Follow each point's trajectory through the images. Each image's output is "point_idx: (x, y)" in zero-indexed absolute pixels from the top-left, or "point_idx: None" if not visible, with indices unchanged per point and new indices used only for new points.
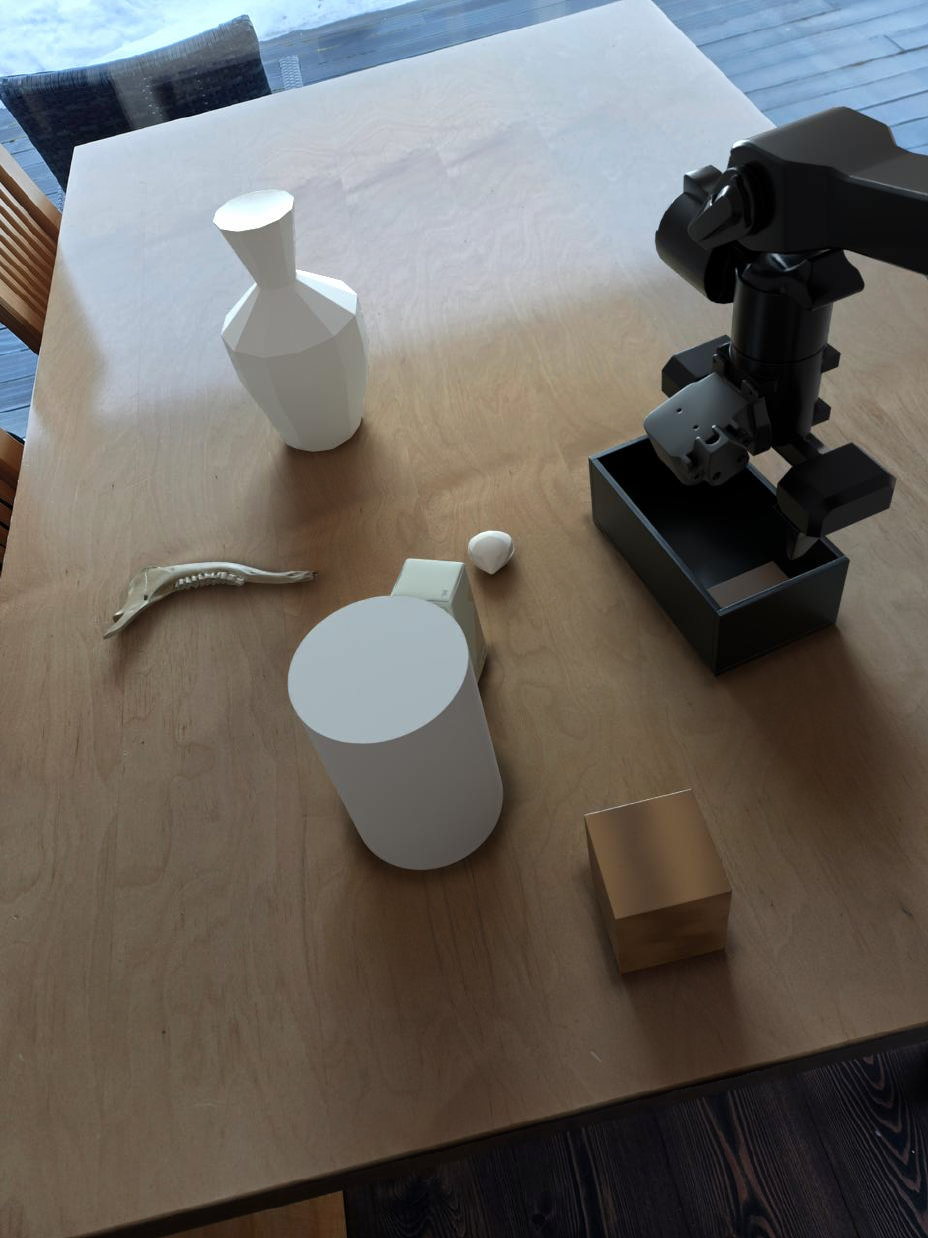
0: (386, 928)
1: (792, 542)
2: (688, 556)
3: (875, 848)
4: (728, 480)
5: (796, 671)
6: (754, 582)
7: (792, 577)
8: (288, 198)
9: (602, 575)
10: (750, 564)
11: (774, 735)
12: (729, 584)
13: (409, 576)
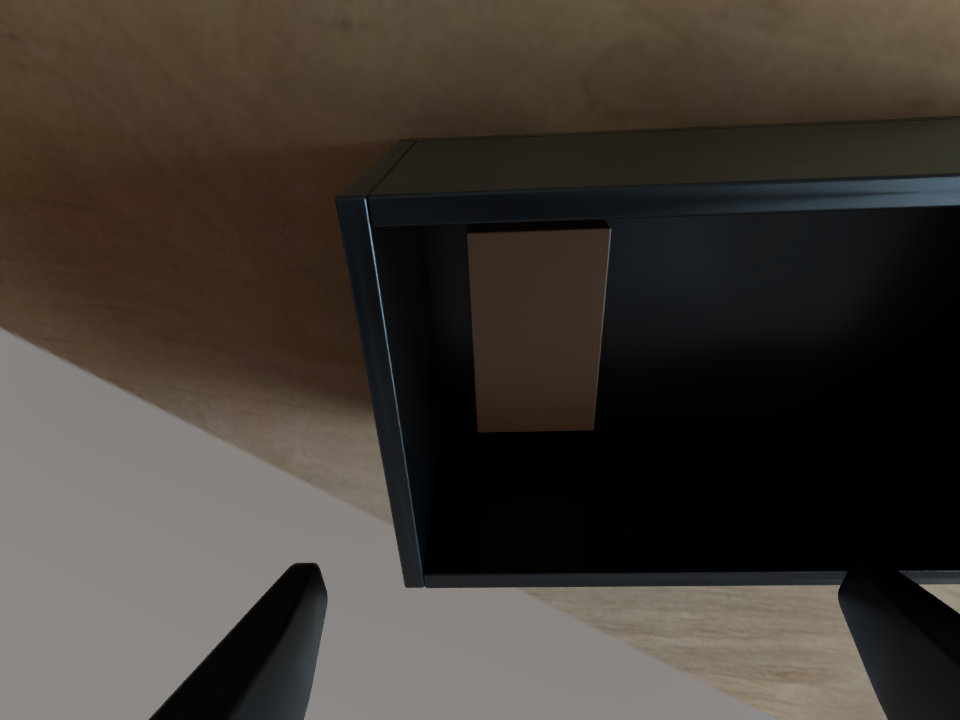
0: None
1: (178, 708)
2: (767, 279)
3: None
4: (844, 595)
5: (352, 311)
6: (559, 366)
7: None
8: None
9: (908, 17)
10: (647, 381)
11: (200, 179)
12: (588, 314)
13: None
